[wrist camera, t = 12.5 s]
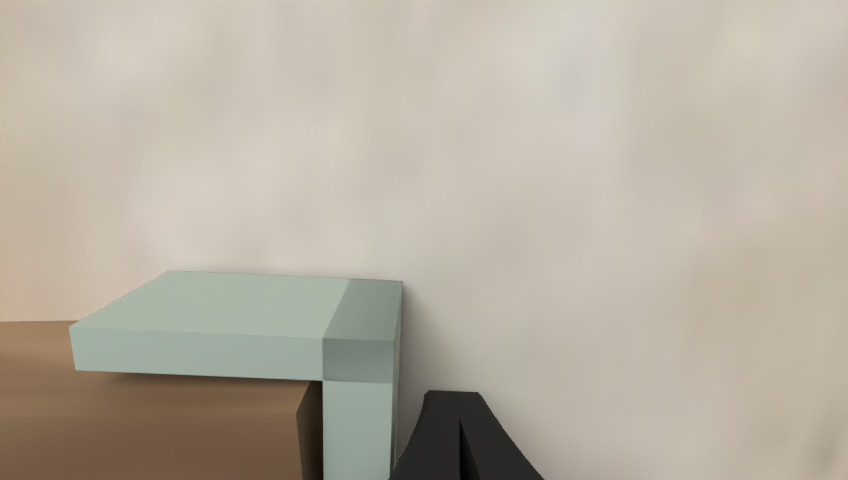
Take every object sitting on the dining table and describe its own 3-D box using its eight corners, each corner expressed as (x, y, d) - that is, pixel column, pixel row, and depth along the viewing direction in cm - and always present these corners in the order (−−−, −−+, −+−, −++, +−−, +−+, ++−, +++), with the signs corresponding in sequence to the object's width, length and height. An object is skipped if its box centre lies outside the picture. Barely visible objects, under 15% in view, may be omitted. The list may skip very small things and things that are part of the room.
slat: (349, 433, 12) (312, 581, 8) (-169, 440, 12) (-450, 589, 8) (341, 312, 11) (295, 413, 7) (-216, 320, 11) (-559, 424, 7)
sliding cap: (393, 512, 12) (384, 637, 9) (191, 504, 12) (116, 627, 9) (402, 281, 10) (394, 341, 7) (169, 270, 10) (67, 326, 7)
